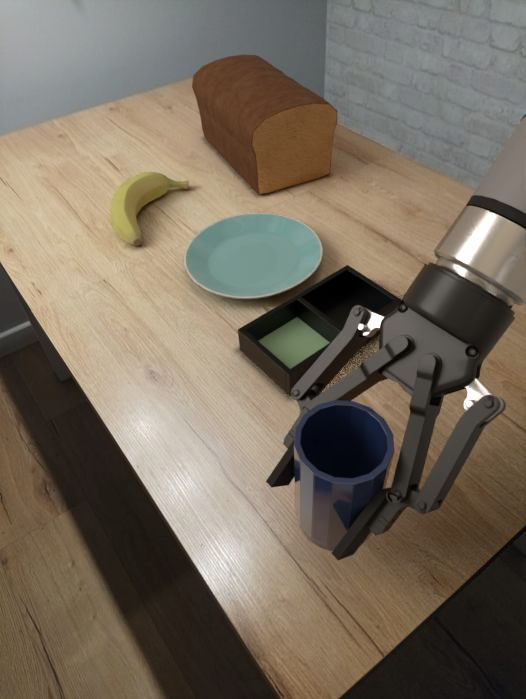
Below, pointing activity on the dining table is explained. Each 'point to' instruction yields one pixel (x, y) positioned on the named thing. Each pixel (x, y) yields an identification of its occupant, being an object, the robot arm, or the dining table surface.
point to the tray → (310, 324)
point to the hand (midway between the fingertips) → (308, 516)
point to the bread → (264, 122)
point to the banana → (137, 202)
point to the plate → (253, 255)
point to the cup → (338, 467)
